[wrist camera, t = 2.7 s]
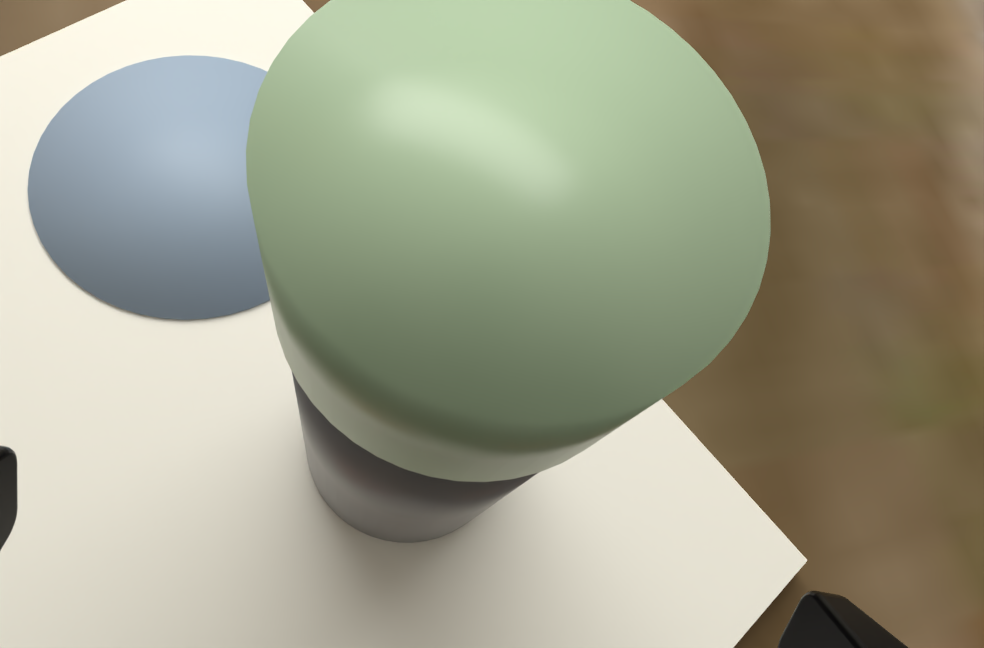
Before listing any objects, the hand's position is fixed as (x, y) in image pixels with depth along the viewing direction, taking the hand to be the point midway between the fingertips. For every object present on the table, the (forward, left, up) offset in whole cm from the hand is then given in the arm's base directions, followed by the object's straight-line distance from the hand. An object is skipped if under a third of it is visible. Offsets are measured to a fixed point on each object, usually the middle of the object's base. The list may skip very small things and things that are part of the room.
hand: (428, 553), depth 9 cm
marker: (+2, -3, -10) cm, 10 cm away
